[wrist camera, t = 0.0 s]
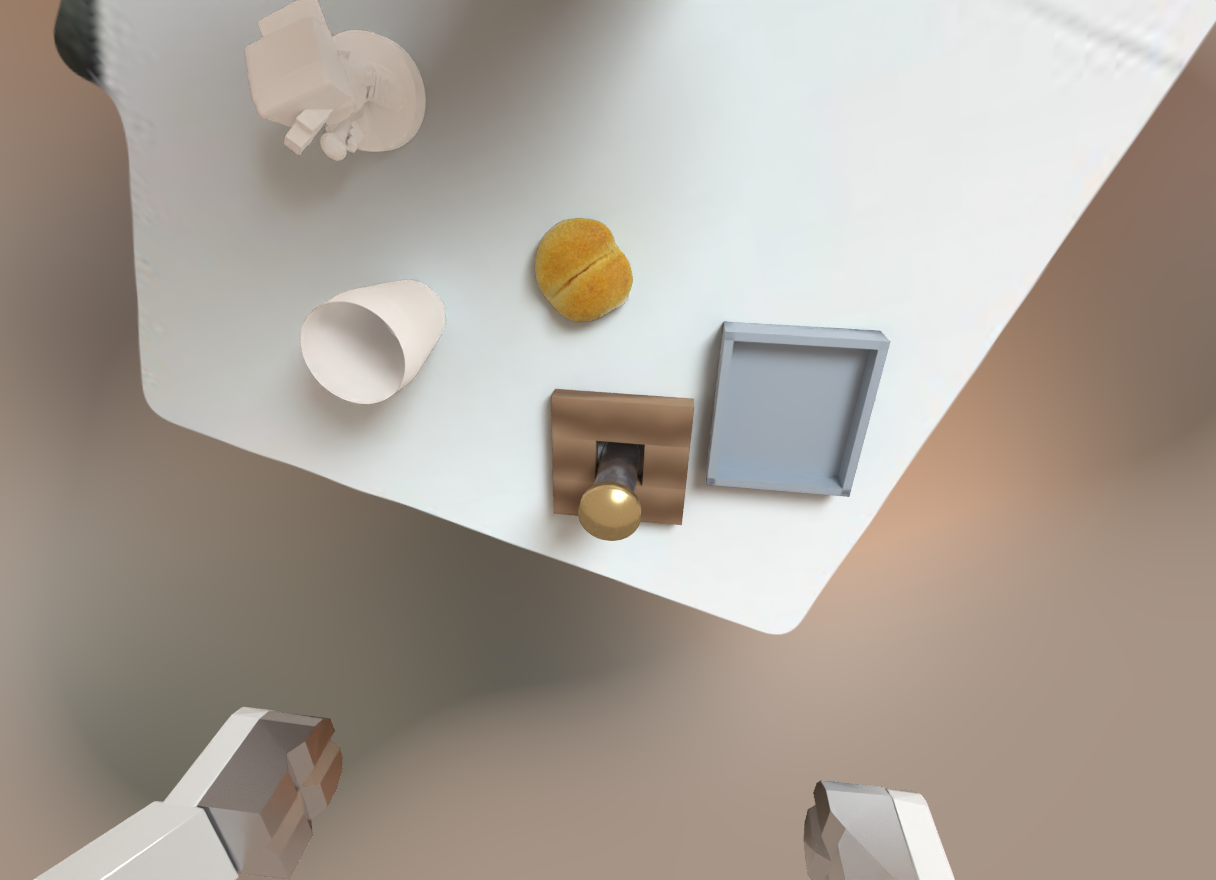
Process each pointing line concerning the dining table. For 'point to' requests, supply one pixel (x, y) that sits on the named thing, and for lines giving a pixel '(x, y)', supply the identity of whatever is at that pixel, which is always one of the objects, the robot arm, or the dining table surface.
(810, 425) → the tray
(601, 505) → the pin
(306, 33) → the character figurine
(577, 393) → the socket block
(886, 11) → the dining table surface
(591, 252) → the bread roll
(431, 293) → the cup
